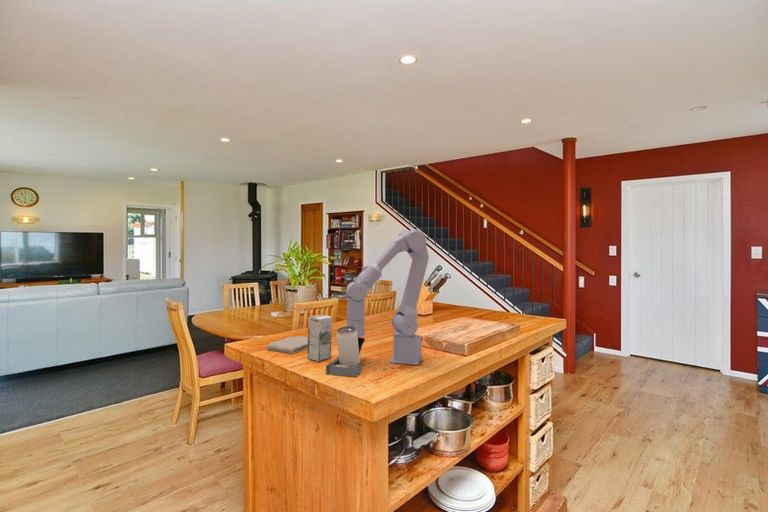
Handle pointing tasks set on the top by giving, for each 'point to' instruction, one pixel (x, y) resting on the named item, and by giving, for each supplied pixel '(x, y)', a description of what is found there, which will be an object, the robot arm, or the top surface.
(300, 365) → the top surface
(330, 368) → the metal bracket
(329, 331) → the syrup box
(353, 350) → the can
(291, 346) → the washcloth
